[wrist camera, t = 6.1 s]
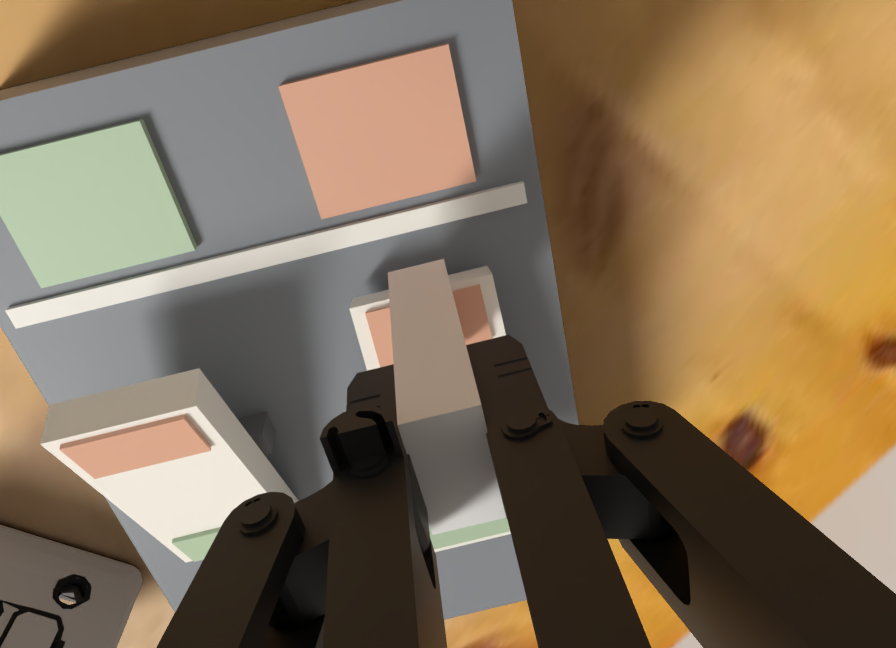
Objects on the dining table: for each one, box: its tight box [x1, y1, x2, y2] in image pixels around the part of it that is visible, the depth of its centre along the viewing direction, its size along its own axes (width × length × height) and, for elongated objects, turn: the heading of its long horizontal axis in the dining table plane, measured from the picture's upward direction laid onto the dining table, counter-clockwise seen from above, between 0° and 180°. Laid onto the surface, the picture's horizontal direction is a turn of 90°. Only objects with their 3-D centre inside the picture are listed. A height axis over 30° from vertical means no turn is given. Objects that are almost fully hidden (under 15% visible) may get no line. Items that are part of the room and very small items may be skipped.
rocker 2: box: [349, 266, 511, 552], centre depth 20 cm, size 8×4×1 cm, turn 12°
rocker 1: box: [40, 368, 298, 563], centre depth 20 cm, size 8×4×1 cm, turn 13°
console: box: [0, 0, 579, 620], centre depth 24 cm, size 22×16×7 cm
